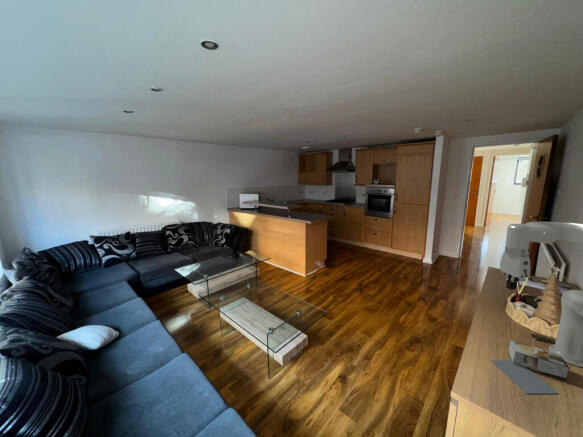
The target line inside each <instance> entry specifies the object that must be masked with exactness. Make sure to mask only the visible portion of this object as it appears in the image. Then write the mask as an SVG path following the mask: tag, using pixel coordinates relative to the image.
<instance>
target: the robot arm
mask: <svg viewBox="0 0 583 437" xmlns="http://www.w3.org/2000/svg"><path fill="white" fill-rule="evenodd" d="M505 236H506V238H505V246H504V251H503V253H502V256H501V258H500V262H499V269H500V273H502V274H503V275H504V276H505V280H506V289H508V290H517V284H518V283H519V282H526V281H527V279H528V278H529V277H530V275H531V259H530V256H529V255H530V252H529V248H530V242H534V243H540V244H551V243H555V242H556V241H557V240H562V241H567V242H572V243H577V244H583V223H579V222H559V221H557V222H556V221H530V222H526V223H524V224H523V223H510V224H509V225H507V230H506V235H505ZM560 304H561V306H560V307H561V315H560V319H559V325H558V328H557V332H556V338H555V344H550V345H549V347H548V349H549V350H548V351H551V352H554V353H557V354H561V356H562V357H563V359H564V360H565V362H566V363H567V364H570V365H573V366H576V367H579V368H583V291H582V290H580V289H569V290H567V291H565V292H564V293H563V294H562V295H561V298H560Z"/></svg>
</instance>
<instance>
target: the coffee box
mask: <svg viewBox="0 0 583 437" xmlns="http://www.w3.org/2000/svg"><path fill="white" fill-rule="evenodd" d="M508 353H509V356H510V360H512V363H515V364H517V365H520V366H523V367H526V368H529V369H530V370H531V371H532V370H533V371H536V372H538V373H542V374H545V375H547V376H551V377H554V378H557V379H559V380H563V381H567V377H568V375H569V372H570V371H569V370H570V367H569V364H568V363H567V362H565V360H564V359H563V357H562V356H561V354H557V353H554V352H551V351H550V350H547V349H543V348H540V347H536V346H533V345H531V344H530V345H529V344H526V343H522V342H519V341H516V340H512V339H511V340H510V343H509V348H508Z"/></svg>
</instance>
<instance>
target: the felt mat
mask: <svg viewBox="0 0 583 437" xmlns="http://www.w3.org/2000/svg"><path fill="white" fill-rule="evenodd" d="M490 361H491V362H492V363H493V364H494V365H495V366H496V367H497V368H498V369H499V370H500V371H501V372H503V374H504V375H505V376H507V377H508V378H509V380H511V381H512V382H513V383H514V384H515V385H516V386H518V388H519V389H521V390H522V391H523V392H524V393H525V394H526V395H558V394H559V392H558V391H557V390H556V389H554V388H553V387H552V386H550V385H549V384H548V383H547V382H546V381H544V379H542V378H541V377H539V376H538V375H537V374H536V373H535V372H533V371H532V369H529V368H526V367H523V366H520V365H517V364H515V363H512V360H511V359H501V360H500V359H497V360H496V359H495V360H493V359H491V360H490Z"/></svg>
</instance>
